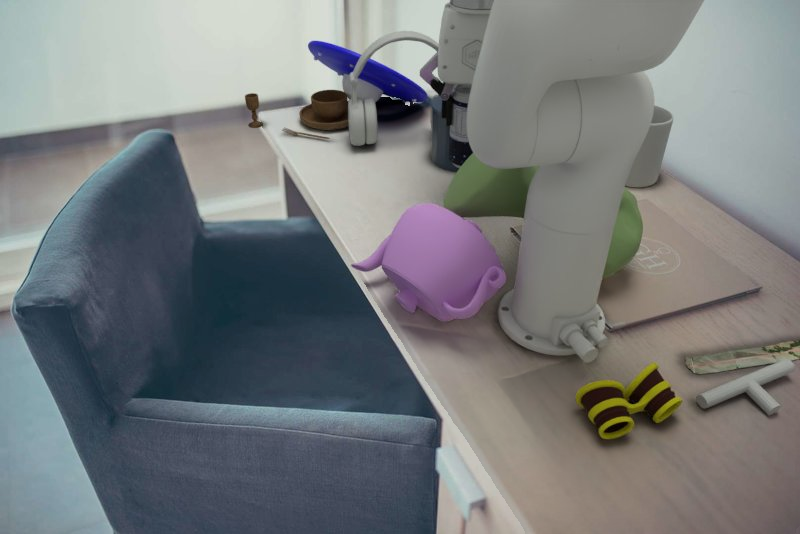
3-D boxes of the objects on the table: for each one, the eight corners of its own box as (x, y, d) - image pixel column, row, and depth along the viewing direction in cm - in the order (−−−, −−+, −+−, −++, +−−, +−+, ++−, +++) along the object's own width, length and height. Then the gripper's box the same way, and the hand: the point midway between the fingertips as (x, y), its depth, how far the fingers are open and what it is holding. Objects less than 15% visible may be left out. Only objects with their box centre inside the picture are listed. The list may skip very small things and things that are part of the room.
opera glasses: (596, 450, 63) (612, 424, 60) (568, 405, 67) (581, 379, 63) (675, 422, 66) (694, 396, 63) (644, 380, 69) (661, 353, 66)
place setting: (339, 142, 117) (336, 111, 113) (244, 128, 123) (239, 98, 119) (375, 107, 130) (374, 79, 127) (288, 96, 136) (285, 69, 132)
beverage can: (482, 173, 97) (489, 97, 90) (445, 169, 98) (449, 94, 91) (486, 156, 102) (493, 83, 95) (450, 153, 103) (454, 80, 96)
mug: (639, 161, 112) (654, 100, 105) (667, 184, 105) (685, 121, 99) (576, 169, 109) (588, 107, 103) (601, 193, 103) (615, 129, 96)
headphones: (351, 154, 113) (346, 43, 102) (348, 134, 120) (343, 28, 109) (462, 148, 115) (469, 38, 104) (453, 128, 122) (459, 24, 111)
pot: (501, 165, 110) (506, 113, 105) (446, 176, 107) (449, 123, 102) (473, 141, 118) (477, 91, 112) (421, 150, 115) (423, 99, 109)
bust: (450, 144, 87) (584, 239, 94) (429, 222, 77) (581, 321, 84) (521, 75, 77) (664, 187, 84) (507, 154, 67) (670, 274, 74)
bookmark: (681, 360, 73) (682, 356, 72) (844, 334, 76) (846, 331, 76) (694, 377, 70) (696, 374, 70) (862, 350, 74) (864, 346, 73)
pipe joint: (694, 400, 67) (725, 434, 64) (699, 392, 66) (731, 426, 63) (780, 364, 71) (814, 395, 68) (786, 356, 70) (820, 387, 67)
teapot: (502, 222, 67) (429, 306, 65) (538, 292, 76) (475, 368, 74) (385, 171, 81) (322, 239, 78) (428, 235, 90) (373, 297, 88)
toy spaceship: (288, 36, 127) (275, 70, 128) (350, 43, 108) (334, 83, 108) (384, 89, 142) (371, 119, 143) (452, 103, 123) (438, 138, 124)
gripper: (413, 2, 82) (411, 132, 93) (547, 3, 82) (530, 134, 93) (413, -13, 88) (412, 112, 99) (538, -12, 88) (523, 113, 99)
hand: (469, 121), depth 96 cm, fingers closed on beverage can, 5 cm apart
